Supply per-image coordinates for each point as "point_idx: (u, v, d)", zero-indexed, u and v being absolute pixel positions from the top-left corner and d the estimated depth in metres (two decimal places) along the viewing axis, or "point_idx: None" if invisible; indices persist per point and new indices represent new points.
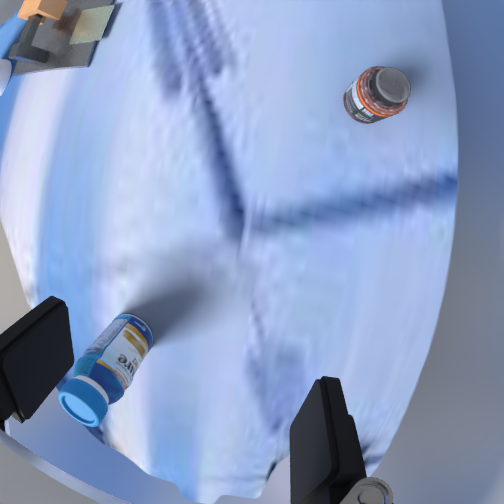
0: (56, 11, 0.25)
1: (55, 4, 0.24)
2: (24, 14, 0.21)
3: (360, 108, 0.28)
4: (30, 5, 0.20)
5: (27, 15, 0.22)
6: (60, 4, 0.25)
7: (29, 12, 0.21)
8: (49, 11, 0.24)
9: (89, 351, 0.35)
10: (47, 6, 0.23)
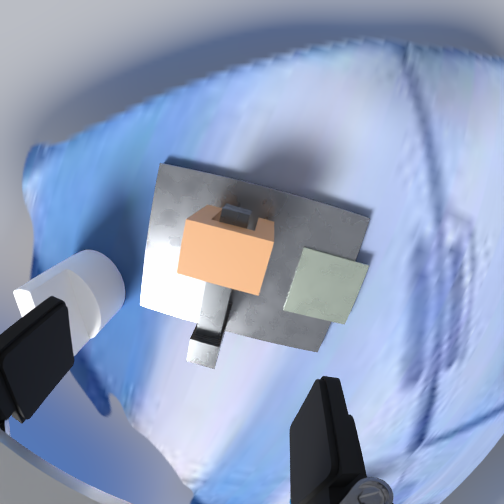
0: None
1: None
2: None
3: None
4: (223, 266, 0.20)
5: None
6: None
7: None
8: None
9: None
10: None
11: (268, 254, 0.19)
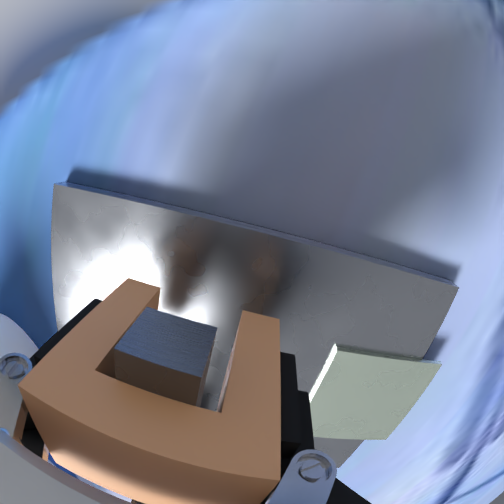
0: None
1: None
2: None
3: None
4: (142, 489, 0.05)
5: None
6: None
7: None
8: None
9: None
10: None
11: (261, 494, 0.05)
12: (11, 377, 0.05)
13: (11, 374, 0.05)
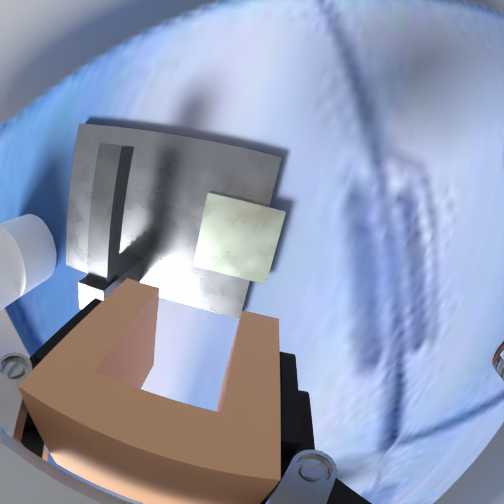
0: None
1: None
2: None
3: None
4: (143, 489, 0.05)
5: None
6: None
7: None
8: None
9: None
10: None
11: (262, 493, 0.05)
12: (11, 377, 0.05)
13: (11, 374, 0.05)
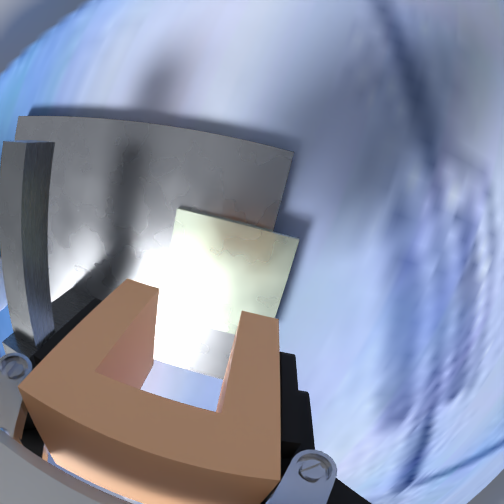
0: None
1: None
2: None
3: None
4: (143, 489, 0.05)
5: None
6: None
7: None
8: None
9: None
10: None
11: (262, 494, 0.05)
12: (11, 377, 0.05)
13: (11, 374, 0.05)
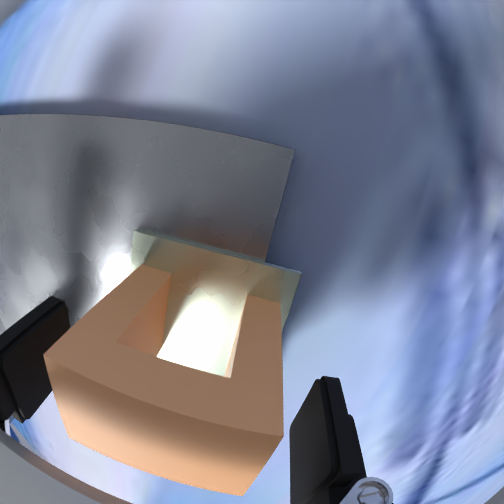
0: None
1: None
2: None
3: None
4: (155, 456, 0.06)
5: None
6: None
7: None
8: None
9: None
10: None
11: (266, 454, 0.06)
12: None
13: None
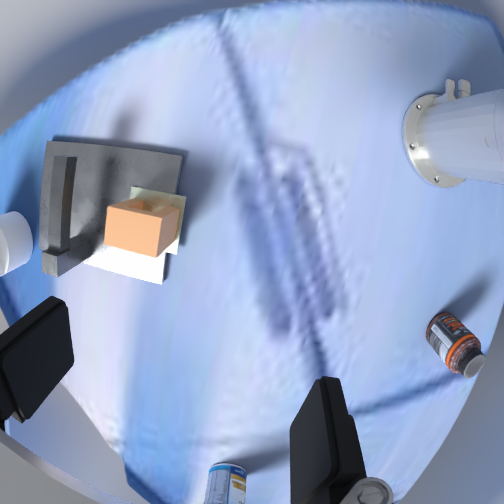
0: (171, 235, 0.32)
1: (170, 227, 0.30)
2: None
3: None
4: (131, 237, 0.27)
5: None
6: (174, 221, 0.31)
7: None
8: (166, 244, 0.30)
9: None
10: (164, 241, 0.29)
11: (159, 227, 0.26)
12: None
13: None
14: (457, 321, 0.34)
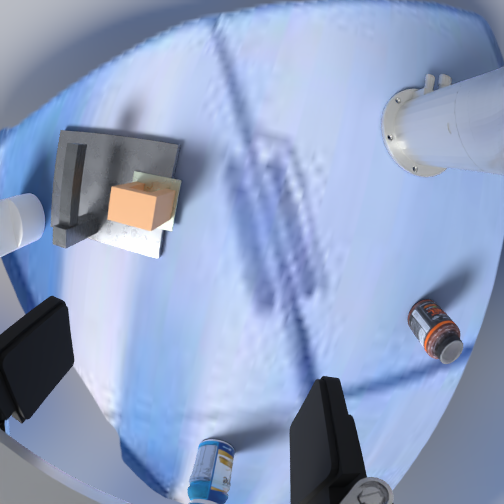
0: (167, 213, 0.36)
1: (165, 206, 0.34)
2: None
3: (421, 344, 0.36)
4: (131, 213, 0.31)
5: None
6: (170, 201, 0.35)
7: (133, 225, 0.32)
8: (161, 221, 0.34)
9: (199, 479, 0.42)
10: (159, 218, 0.33)
11: (154, 204, 0.30)
12: None
13: None
14: (438, 308, 0.36)
